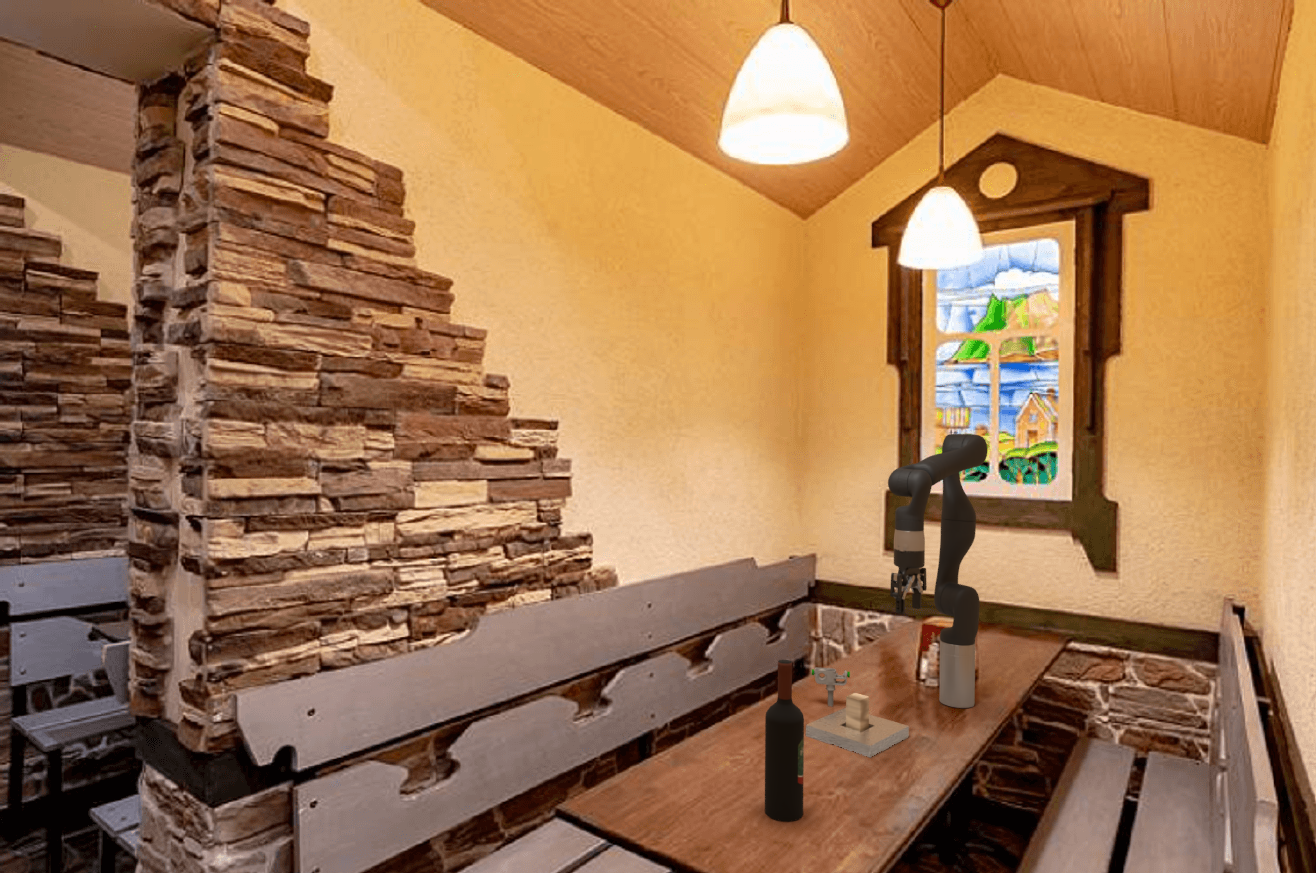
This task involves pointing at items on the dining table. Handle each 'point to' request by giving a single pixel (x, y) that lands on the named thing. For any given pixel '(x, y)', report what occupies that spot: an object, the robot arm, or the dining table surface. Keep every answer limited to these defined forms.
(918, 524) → the robot arm
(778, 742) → the wine bottle
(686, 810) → the dining table surface
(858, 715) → the wooden block
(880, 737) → the square slotted board
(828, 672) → the mechanical component
